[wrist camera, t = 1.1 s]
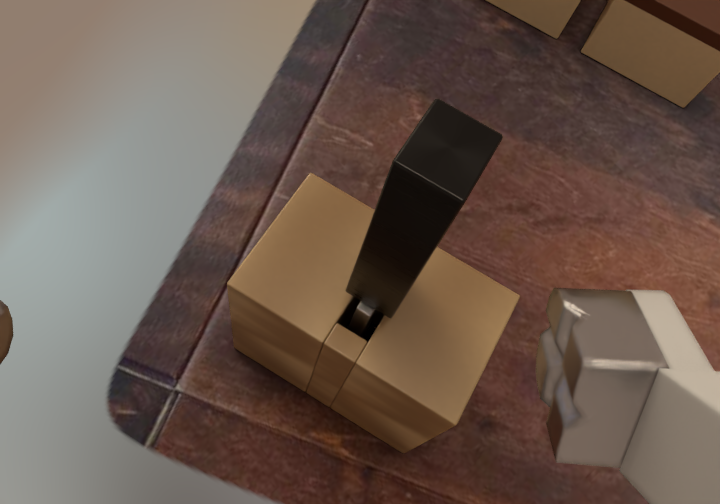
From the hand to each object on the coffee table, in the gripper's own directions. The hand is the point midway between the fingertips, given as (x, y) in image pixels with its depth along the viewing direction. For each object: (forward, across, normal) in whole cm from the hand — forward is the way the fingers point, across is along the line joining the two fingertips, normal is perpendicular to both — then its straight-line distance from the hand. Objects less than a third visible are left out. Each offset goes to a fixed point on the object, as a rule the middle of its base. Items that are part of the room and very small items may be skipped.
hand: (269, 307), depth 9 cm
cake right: (+40, -20, +6) cm, 45 cm away
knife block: (+17, 0, +17) cm, 24 cm away
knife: (+17, 0, +17) cm, 24 cm away
